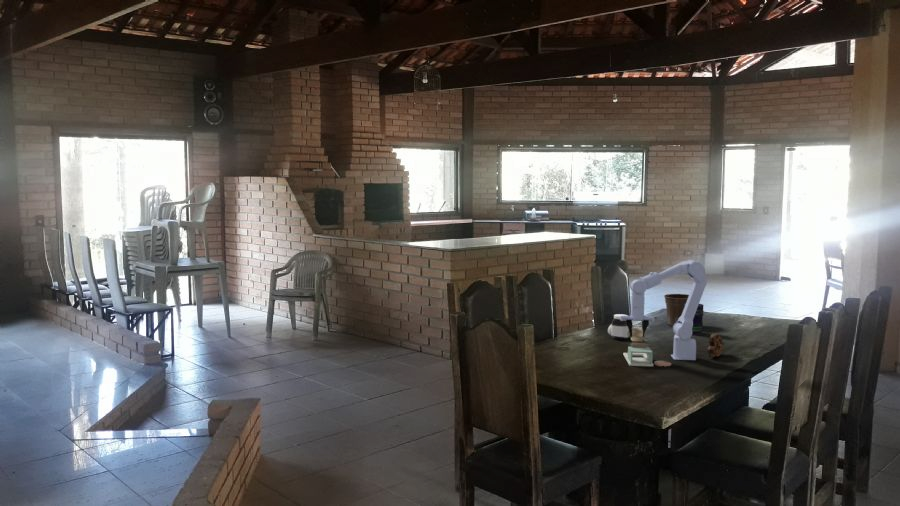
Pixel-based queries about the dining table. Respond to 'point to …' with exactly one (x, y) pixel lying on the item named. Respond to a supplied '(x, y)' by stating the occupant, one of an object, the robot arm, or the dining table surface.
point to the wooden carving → (715, 345)
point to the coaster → (662, 363)
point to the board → (638, 360)
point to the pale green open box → (640, 351)
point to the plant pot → (675, 306)
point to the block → (637, 334)
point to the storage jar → (698, 320)
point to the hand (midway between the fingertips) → (636, 336)
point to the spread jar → (619, 328)
